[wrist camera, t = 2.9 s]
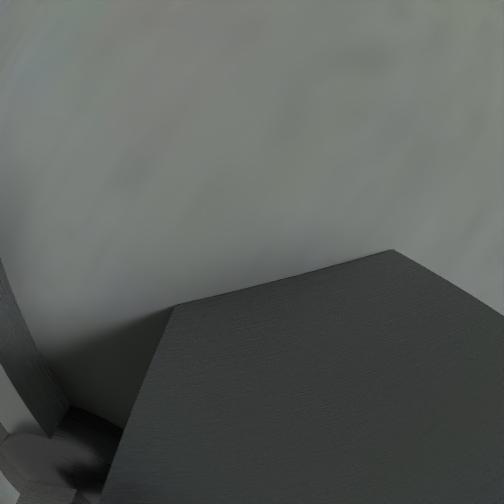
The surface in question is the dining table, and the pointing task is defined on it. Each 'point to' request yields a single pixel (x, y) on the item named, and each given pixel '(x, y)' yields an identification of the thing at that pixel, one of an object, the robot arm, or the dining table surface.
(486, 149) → the dining table surface
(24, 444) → the ratchet
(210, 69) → the dining table surface
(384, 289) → the grey bevelled cube
